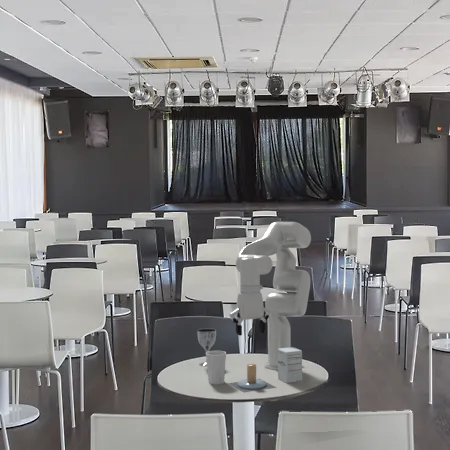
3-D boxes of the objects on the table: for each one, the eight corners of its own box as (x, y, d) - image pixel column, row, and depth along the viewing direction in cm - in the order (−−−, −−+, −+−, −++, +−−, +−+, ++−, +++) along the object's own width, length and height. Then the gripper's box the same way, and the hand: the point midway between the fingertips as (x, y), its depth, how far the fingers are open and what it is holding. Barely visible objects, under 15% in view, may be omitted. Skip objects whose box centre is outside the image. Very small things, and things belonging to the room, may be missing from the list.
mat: (259, 379, 310) (259, 378, 310) (276, 388, 297) (276, 387, 297) (227, 384, 304) (227, 383, 304) (243, 393, 291) (243, 392, 291)
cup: (224, 386, 302) (223, 355, 301) (204, 385, 303) (203, 354, 303) (228, 380, 310) (227, 350, 309) (208, 379, 311) (208, 350, 310)
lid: (257, 380, 308) (257, 360, 307) (271, 386, 298) (271, 366, 298) (232, 383, 303) (232, 363, 303) (245, 390, 293) (245, 369, 293)
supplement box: (277, 379, 310) (277, 348, 309) (293, 377, 313) (293, 346, 312) (286, 384, 303) (285, 352, 302) (302, 381, 306) (302, 350, 305)
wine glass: (205, 361, 342) (205, 327, 341) (220, 363, 337) (219, 329, 336) (194, 364, 336) (193, 330, 335) (209, 367, 331) (208, 332, 330)
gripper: (265, 286, 305) (265, 329, 306) (225, 289, 298) (226, 334, 299) (274, 289, 299) (275, 333, 300) (234, 292, 291) (234, 337, 292)
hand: (250, 333), depth 299 cm, fingers open, 9 cm apart
